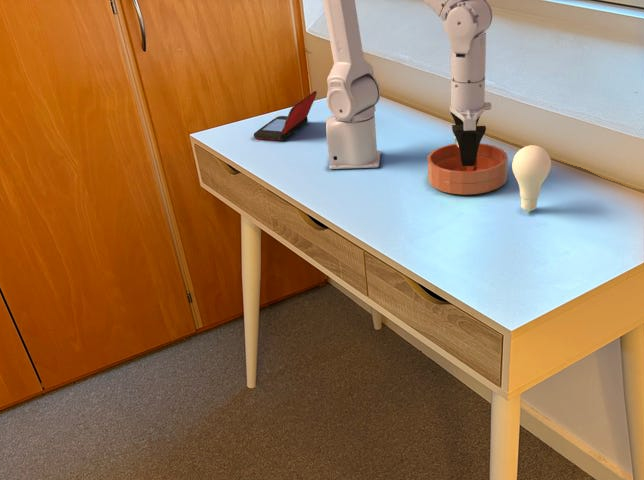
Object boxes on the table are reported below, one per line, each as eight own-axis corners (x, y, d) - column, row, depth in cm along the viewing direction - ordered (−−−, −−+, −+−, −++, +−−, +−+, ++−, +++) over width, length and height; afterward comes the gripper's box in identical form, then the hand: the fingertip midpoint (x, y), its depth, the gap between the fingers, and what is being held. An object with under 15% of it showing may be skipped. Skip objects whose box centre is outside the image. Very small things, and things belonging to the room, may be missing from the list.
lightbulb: (550, 205, 121) (555, 141, 115) (543, 220, 117) (548, 155, 110) (514, 201, 123) (517, 138, 116) (506, 217, 118) (509, 152, 112)
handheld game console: (279, 120, 164) (274, 86, 159) (322, 123, 160) (318, 89, 156) (251, 139, 154) (245, 104, 150) (297, 143, 151) (292, 107, 147)
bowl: (428, 198, 126) (427, 173, 123) (427, 167, 137) (427, 144, 134) (510, 195, 125) (511, 170, 122) (502, 164, 136) (503, 141, 134)
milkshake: (479, 172, 133) (480, 117, 127) (479, 183, 128) (480, 128, 122) (455, 172, 133) (455, 118, 127) (454, 184, 129) (453, 128, 123)
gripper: (495, 90, 114) (493, 172, 122) (488, 65, 126) (486, 141, 134) (451, 92, 115) (451, 173, 123) (448, 67, 126) (448, 143, 134)
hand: (467, 157), depth 128 cm, fingers open, 7 cm apart
